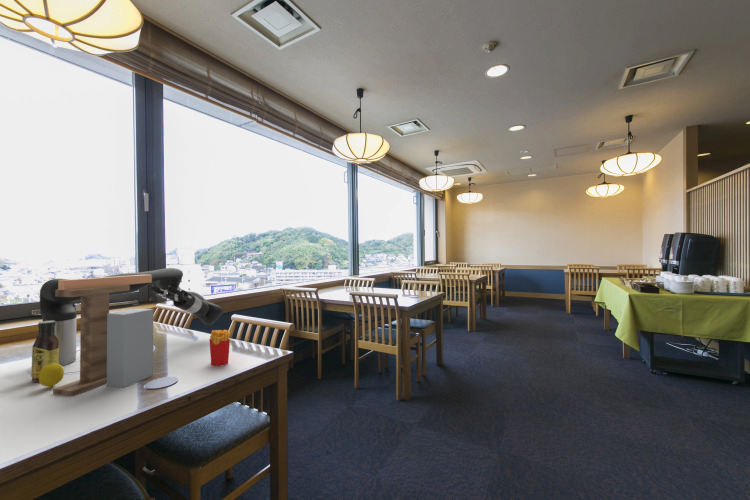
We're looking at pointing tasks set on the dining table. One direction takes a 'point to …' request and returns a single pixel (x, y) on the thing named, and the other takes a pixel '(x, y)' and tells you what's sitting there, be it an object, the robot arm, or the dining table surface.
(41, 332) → the sauce bottle
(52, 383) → the lemon
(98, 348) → the walnut shelf
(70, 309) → the robot arm
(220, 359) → the french fries
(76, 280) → the terracotta bar
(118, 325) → the grey rectangular block
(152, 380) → the dining table surface
